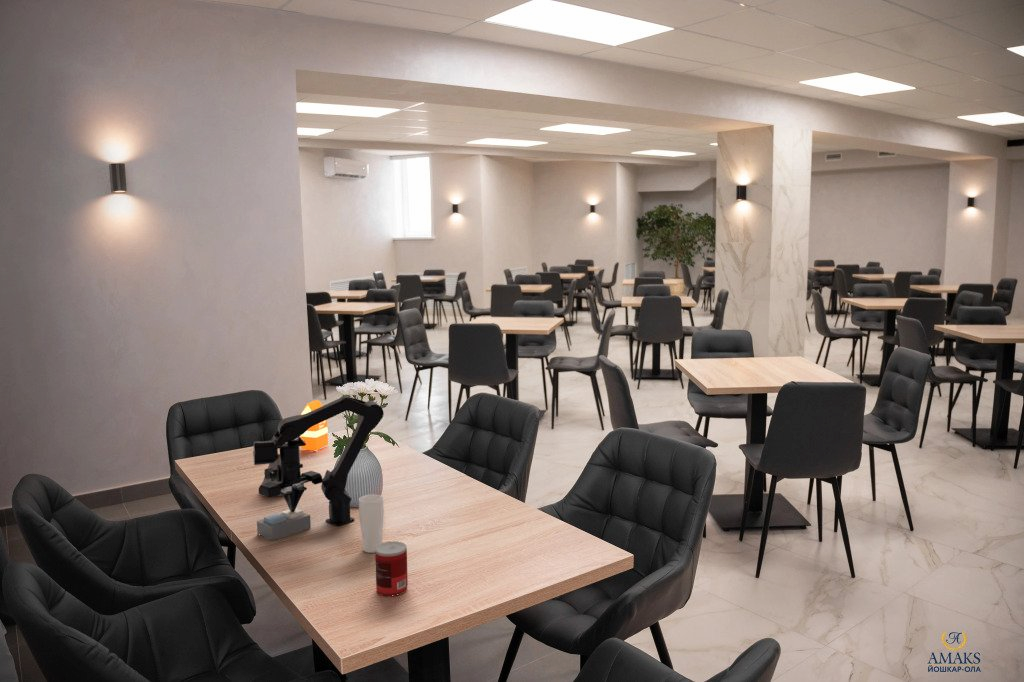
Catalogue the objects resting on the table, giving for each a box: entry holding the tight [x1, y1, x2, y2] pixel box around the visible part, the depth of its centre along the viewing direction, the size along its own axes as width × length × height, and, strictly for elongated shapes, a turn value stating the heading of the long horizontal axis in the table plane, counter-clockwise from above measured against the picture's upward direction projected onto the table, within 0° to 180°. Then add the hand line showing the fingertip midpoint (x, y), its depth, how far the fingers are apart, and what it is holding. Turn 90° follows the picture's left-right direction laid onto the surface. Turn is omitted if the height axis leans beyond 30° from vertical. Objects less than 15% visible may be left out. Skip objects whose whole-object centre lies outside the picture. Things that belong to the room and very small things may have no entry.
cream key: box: [281, 508, 304, 519], centre depth 228 cm, size 4×4×4 cm
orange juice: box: [299, 399, 329, 450], centre depth 317 cm, size 8×9×20 cm
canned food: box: [374, 540, 409, 597], centre depth 187 cm, size 8×8×11 cm
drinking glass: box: [358, 493, 385, 554], centre depth 211 cm, size 7×7×15 cm
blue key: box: [263, 512, 286, 525], centre depth 224 cm, size 4×4×4 cm
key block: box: [256, 512, 312, 541], centre depth 226 cm, size 8×13×4 cm, turn 140°
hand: (292, 511), depth 228 cm, fingers closed, pressing on cream key
